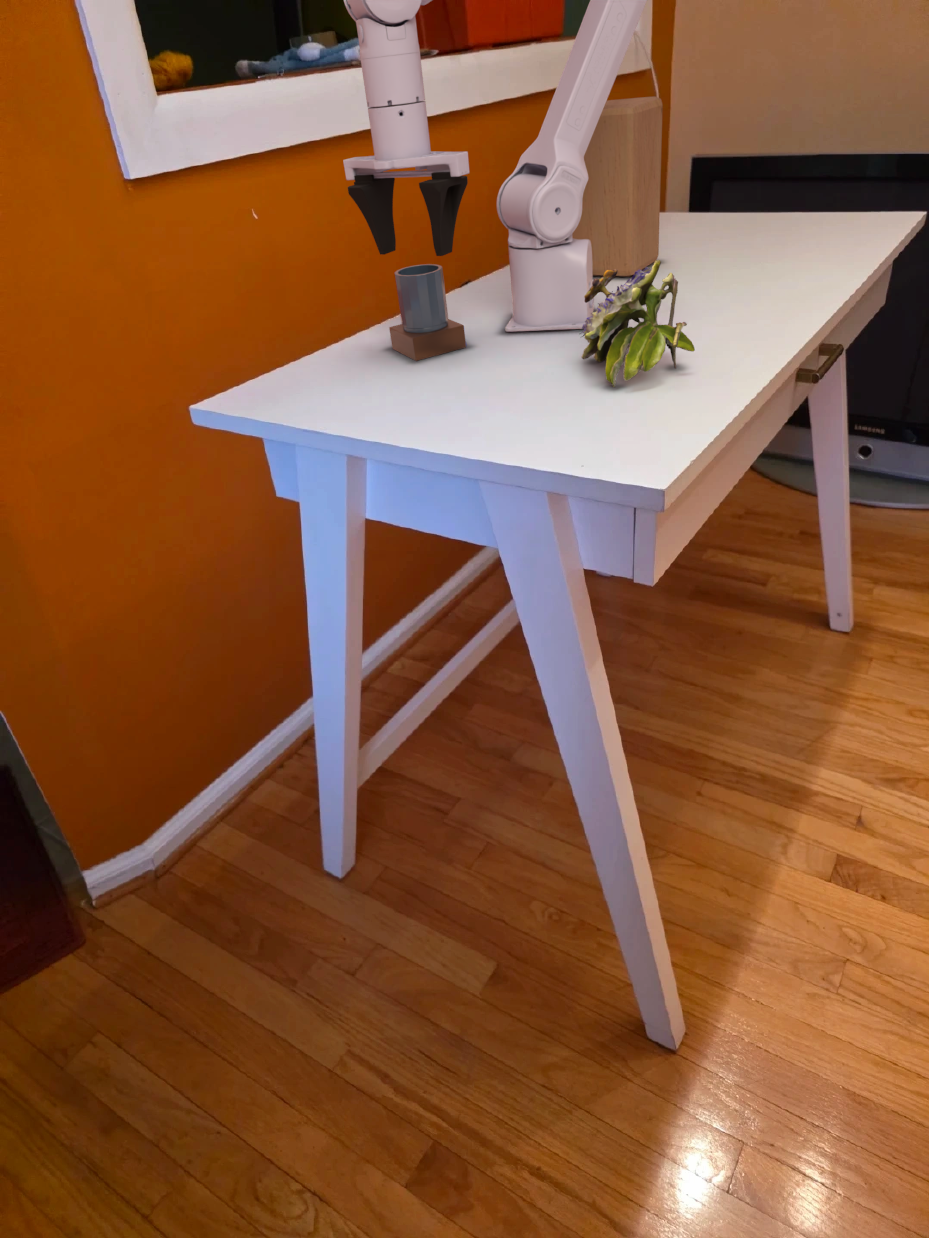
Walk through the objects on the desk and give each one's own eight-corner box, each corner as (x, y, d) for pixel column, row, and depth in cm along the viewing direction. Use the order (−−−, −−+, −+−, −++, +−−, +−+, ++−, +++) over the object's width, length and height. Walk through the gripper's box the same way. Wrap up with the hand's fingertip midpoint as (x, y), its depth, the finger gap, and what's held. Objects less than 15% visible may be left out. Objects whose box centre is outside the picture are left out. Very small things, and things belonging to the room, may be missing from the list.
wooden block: (660, 260, 116) (665, 95, 105) (633, 278, 109) (634, 104, 98) (596, 259, 121) (594, 101, 109) (566, 276, 114) (560, 110, 103)
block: (440, 336, 97) (438, 314, 95) (466, 347, 92) (464, 325, 91) (392, 349, 95) (388, 327, 93) (415, 361, 90) (412, 338, 89)
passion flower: (603, 413, 86) (603, 300, 86) (708, 399, 81) (708, 278, 81) (563, 385, 76) (562, 257, 76) (680, 366, 71) (679, 230, 71)
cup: (453, 318, 93) (447, 263, 90) (441, 332, 89) (434, 274, 86) (410, 320, 95) (402, 265, 91) (397, 334, 91) (388, 277, 87)
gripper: (314, 114, 81) (340, 260, 89) (432, 104, 74) (449, 264, 81) (359, 106, 85) (380, 245, 93) (475, 96, 78) (487, 248, 86)
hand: (415, 253), depth 88 cm, fingers open, 7 cm apart
